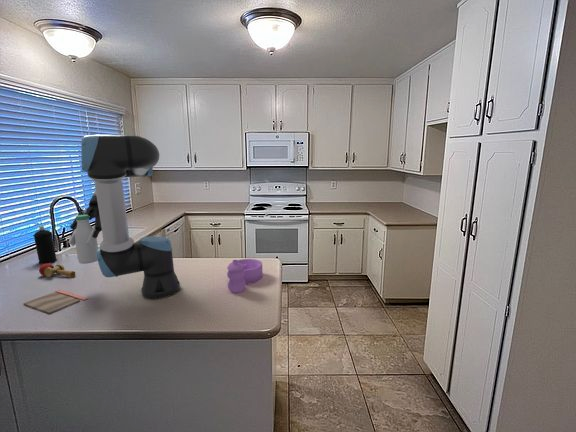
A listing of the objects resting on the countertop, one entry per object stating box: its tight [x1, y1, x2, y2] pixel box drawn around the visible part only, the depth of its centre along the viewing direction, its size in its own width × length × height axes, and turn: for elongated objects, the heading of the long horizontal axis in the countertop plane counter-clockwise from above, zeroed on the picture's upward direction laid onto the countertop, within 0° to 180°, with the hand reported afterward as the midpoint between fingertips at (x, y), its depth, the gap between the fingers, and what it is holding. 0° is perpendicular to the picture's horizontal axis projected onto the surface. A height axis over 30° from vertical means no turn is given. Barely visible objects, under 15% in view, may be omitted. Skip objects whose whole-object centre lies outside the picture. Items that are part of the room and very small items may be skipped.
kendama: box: [38, 263, 76, 278], centre depth 153 cm, size 8×6×18 cm
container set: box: [226, 258, 264, 294], centre depth 139 cm, size 25×15×13 cm, turn 172°
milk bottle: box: [75, 214, 99, 265], centre depth 133 cm, size 8×8×20 cm
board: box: [23, 291, 81, 315], centre depth 125 cm, size 18×11×1 cm, turn 64°
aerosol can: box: [33, 225, 58, 265], centre depth 172 cm, size 8×8×20 cm
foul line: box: [54, 289, 89, 302], centre depth 131 cm, size 20×2×1 cm, turn 64°
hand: (80, 244), depth 130 cm, fingers closed on milk bottle, 7 cm apart
